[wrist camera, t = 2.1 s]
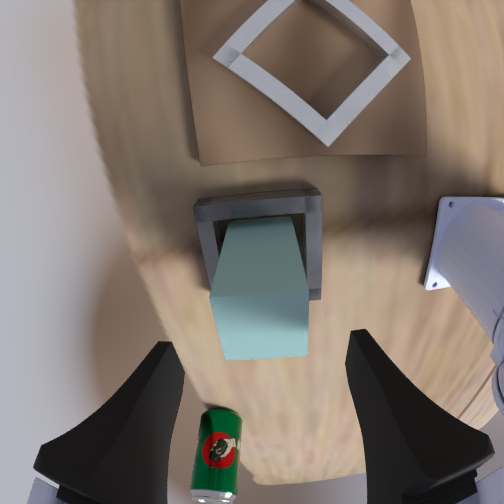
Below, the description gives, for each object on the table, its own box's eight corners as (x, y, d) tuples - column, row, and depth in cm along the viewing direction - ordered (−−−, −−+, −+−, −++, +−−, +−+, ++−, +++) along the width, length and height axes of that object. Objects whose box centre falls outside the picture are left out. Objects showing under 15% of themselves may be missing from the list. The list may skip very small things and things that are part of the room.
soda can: (193, 409, 30) (178, 495, 19) (229, 403, 29) (220, 498, 18) (215, 426, 32) (206, 504, 22) (249, 421, 31) (245, 505, 20)
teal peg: (290, 215, 18) (308, 290, 11) (293, 268, 20) (307, 355, 13) (229, 221, 18) (209, 297, 11) (237, 273, 20) (225, 360, 13)
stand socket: (316, 188, 17) (321, 195, 16) (317, 287, 21) (320, 299, 19) (198, 199, 18) (193, 206, 16) (217, 294, 21) (214, 307, 20)
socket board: (400, -9, 10) (417, -20, 7) (418, 153, 15) (438, 161, 13) (182, -9, 11) (171, -24, 9) (204, 163, 16) (195, 172, 14)
